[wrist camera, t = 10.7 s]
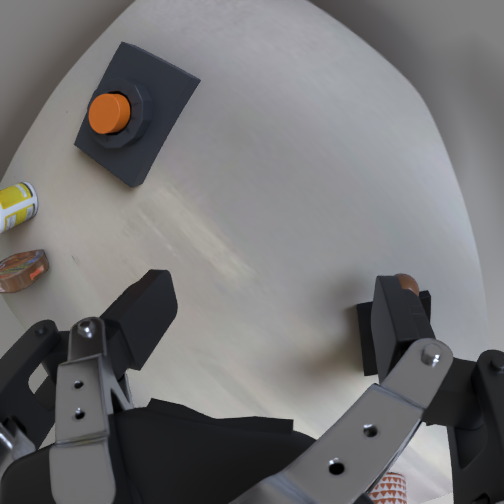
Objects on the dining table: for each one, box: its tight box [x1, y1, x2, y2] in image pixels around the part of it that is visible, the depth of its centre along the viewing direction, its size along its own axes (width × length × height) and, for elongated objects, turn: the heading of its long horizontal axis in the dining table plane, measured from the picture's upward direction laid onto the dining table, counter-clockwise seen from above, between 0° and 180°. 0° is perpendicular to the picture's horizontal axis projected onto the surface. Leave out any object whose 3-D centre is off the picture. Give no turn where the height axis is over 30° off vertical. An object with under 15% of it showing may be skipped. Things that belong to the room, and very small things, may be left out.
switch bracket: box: [357, 290, 434, 426], centre depth 26 cm, size 10×8×12 cm
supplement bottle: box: [0, 182, 38, 234], centre depth 30 cm, size 5×5×10 cm
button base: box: [74, 42, 201, 188], centre depth 25 cm, size 12×9×4 cm
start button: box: [89, 94, 130, 134], centre depth 23 cm, size 4×4×2 cm
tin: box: [0, 250, 49, 293], centre depth 35 cm, size 15×3×8 cm, turn 100°
